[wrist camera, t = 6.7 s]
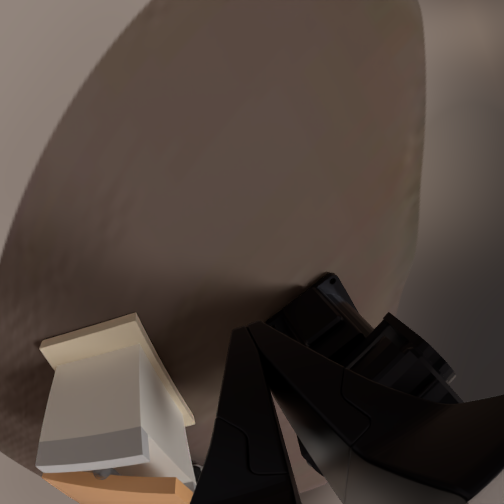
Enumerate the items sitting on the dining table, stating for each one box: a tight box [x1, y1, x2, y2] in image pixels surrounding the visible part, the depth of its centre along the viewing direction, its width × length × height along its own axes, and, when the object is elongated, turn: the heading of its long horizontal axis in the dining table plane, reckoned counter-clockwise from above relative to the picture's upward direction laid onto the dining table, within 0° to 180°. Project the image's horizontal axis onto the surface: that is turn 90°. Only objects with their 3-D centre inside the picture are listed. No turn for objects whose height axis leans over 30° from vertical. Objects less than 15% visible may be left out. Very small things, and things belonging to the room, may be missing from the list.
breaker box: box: [35, 312, 197, 493], centre depth 17 cm, size 8×12×10 cm, turn 13°
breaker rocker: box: [42, 468, 193, 504], centre depth 13 cm, size 9×5×2 cm, turn 103°
